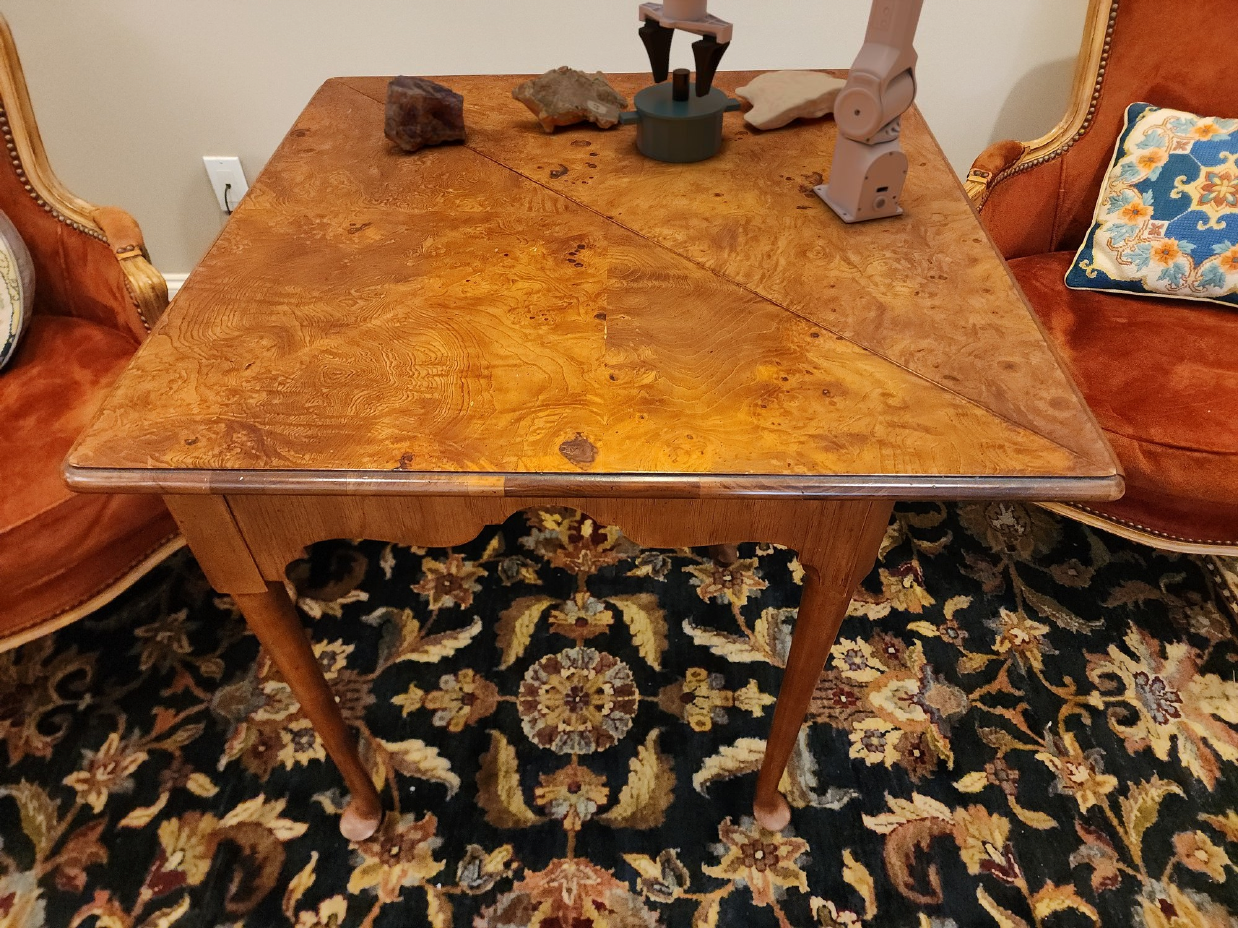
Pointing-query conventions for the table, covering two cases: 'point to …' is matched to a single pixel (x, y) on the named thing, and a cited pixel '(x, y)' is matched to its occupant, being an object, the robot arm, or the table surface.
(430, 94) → the rock
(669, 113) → the lid
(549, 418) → the table surface
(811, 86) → the decorative stone
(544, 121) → the mineral specimen
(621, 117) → the pot
